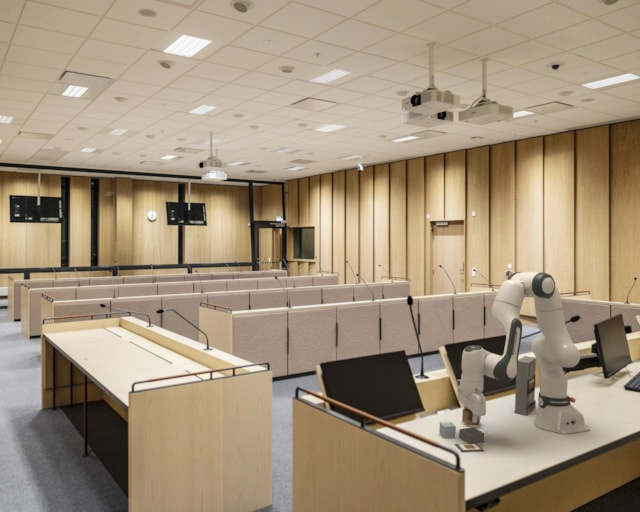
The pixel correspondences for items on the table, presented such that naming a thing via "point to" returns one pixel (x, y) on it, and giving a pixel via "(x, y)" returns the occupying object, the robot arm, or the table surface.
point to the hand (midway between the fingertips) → (470, 419)
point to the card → (469, 447)
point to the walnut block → (468, 417)
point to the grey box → (525, 386)
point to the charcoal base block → (471, 435)
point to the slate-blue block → (447, 430)
